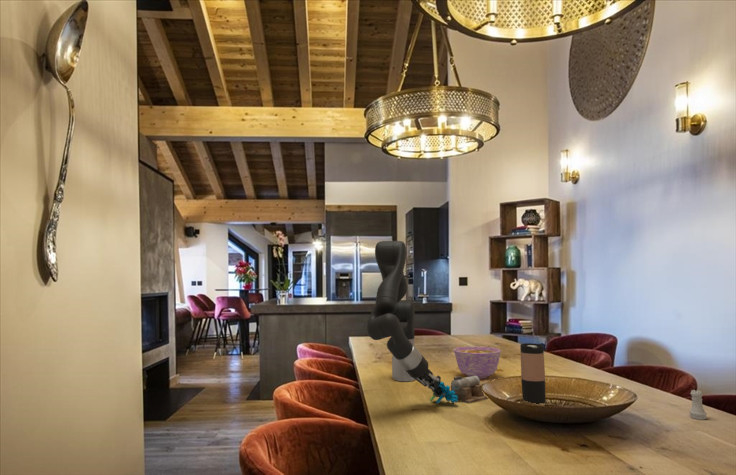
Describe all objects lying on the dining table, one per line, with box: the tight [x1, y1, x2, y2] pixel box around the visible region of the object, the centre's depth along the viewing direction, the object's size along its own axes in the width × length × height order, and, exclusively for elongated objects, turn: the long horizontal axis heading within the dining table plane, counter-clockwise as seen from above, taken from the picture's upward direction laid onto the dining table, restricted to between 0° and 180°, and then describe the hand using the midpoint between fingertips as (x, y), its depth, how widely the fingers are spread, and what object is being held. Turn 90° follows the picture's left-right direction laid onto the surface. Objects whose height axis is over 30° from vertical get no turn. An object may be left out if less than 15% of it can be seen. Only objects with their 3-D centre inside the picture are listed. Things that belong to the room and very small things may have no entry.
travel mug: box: [520, 342, 546, 404], centre depth 160 cm, size 8×8×20 cm
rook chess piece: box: [688, 389, 708, 421], centre depth 143 cm, size 4×4×8 cm
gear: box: [430, 381, 458, 405], centre depth 161 cm, size 11×6×10 cm
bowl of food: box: [453, 346, 501, 380], centre depth 205 cm, size 20×20×12 cm
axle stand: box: [450, 375, 489, 404], centre depth 169 cm, size 12×10×8 cm
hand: (439, 393), depth 161 cm, fingers closed
